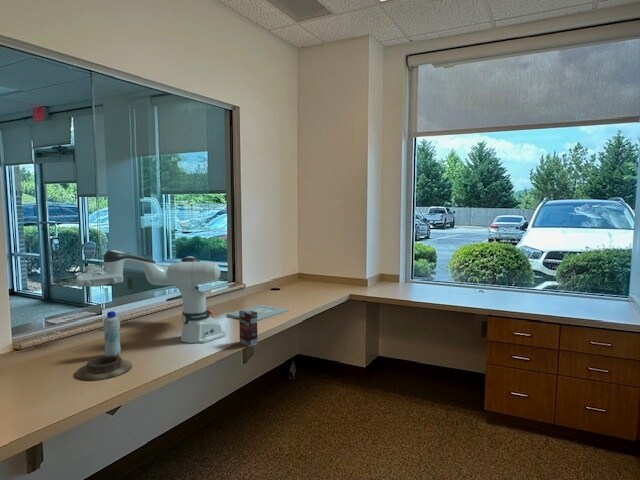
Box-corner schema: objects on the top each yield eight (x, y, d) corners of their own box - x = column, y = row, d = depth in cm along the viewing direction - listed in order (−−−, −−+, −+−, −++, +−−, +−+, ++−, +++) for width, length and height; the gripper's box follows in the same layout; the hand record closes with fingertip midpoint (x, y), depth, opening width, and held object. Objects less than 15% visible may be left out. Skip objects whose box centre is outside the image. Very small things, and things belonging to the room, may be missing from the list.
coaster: (122, 357, 182) (121, 349, 181) (139, 370, 167) (138, 361, 167) (70, 370, 168) (69, 360, 168) (83, 385, 154) (83, 374, 153)
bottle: (123, 352, 188) (122, 309, 187) (117, 358, 181) (115, 313, 180) (108, 353, 188) (107, 309, 186) (101, 358, 181) (99, 313, 180)
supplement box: (239, 342, 202) (238, 310, 201) (247, 340, 206) (246, 309, 204) (250, 346, 196) (249, 313, 195) (258, 344, 200) (257, 311, 198)
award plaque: (226, 317, 251) (226, 313, 251) (260, 307, 276) (260, 304, 276) (256, 323, 237) (256, 319, 237) (289, 312, 262) (289, 309, 262)
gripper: (120, 281, 214) (127, 287, 203) (74, 286, 201) (79, 293, 191) (119, 269, 213) (126, 274, 202) (73, 273, 200) (78, 279, 190)
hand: (103, 283), depth 196 cm, fingers open, 8 cm apart
